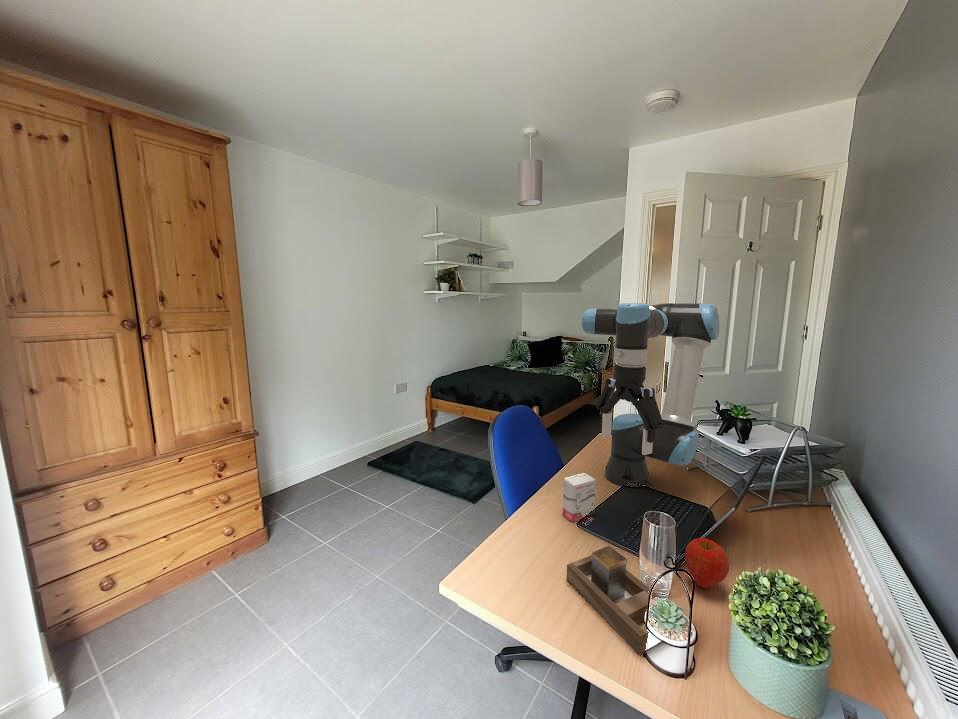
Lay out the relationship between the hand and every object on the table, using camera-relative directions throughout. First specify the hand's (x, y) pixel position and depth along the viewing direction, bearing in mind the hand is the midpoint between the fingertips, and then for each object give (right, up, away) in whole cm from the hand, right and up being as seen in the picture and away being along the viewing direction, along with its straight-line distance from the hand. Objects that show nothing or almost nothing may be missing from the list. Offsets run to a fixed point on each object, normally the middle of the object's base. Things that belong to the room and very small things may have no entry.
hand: (625, 444), depth 100 cm
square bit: (-10, -29, -16) cm, 35 cm away
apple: (+13, -29, -13) cm, 35 cm away
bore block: (-9, -30, -18) cm, 36 cm away
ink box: (-9, -25, +15) cm, 30 cm away
